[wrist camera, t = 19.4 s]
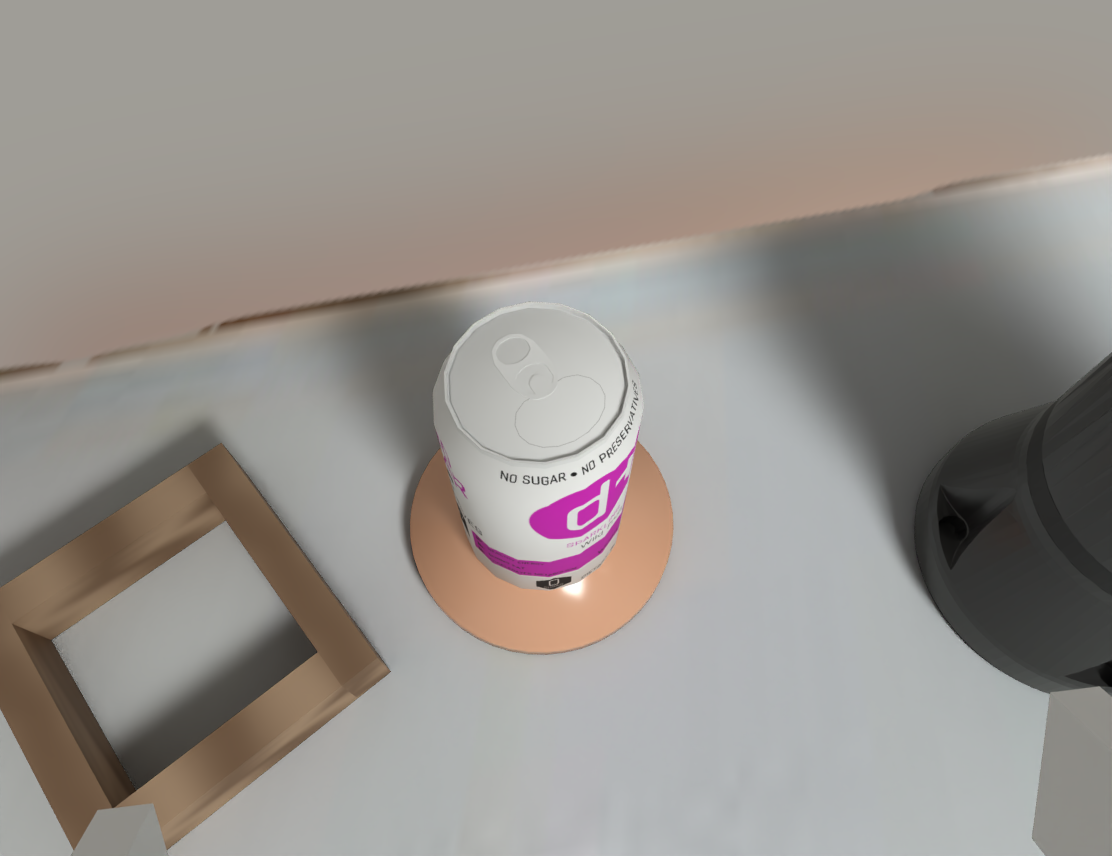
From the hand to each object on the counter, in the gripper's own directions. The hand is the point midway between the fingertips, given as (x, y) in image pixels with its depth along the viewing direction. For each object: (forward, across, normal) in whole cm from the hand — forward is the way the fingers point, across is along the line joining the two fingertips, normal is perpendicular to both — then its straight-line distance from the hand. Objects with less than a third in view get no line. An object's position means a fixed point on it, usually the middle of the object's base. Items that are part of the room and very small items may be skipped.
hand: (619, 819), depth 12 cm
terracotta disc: (+32, 0, -10) cm, 33 cm away
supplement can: (+31, 0, -9) cm, 33 cm away
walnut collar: (+28, -18, -13) cm, 36 cm away
